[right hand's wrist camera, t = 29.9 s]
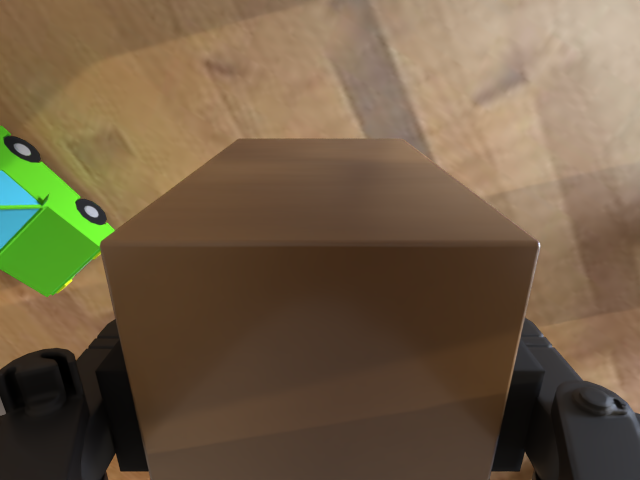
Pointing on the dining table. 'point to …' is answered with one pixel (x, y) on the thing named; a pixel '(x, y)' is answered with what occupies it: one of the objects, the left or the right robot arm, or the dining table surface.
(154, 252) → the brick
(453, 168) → the dining table surface
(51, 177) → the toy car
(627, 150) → the dining table surface
